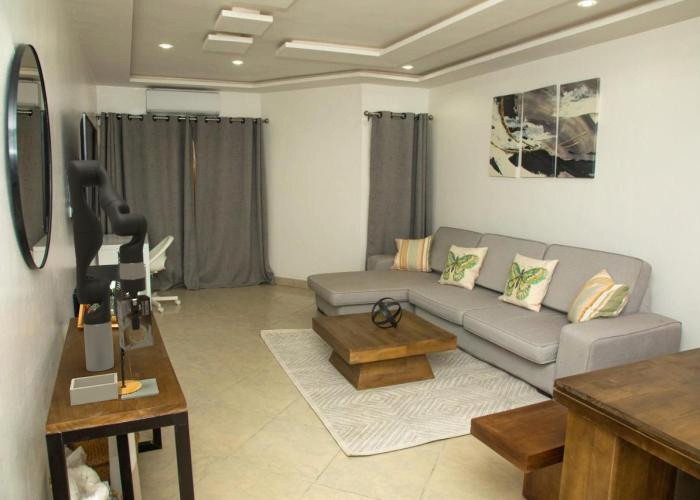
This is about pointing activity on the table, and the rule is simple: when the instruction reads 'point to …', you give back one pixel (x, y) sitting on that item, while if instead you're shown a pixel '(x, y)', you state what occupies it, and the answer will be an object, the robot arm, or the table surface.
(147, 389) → the mat
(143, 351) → the table surface
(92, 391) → the open box
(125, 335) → the coffee box
